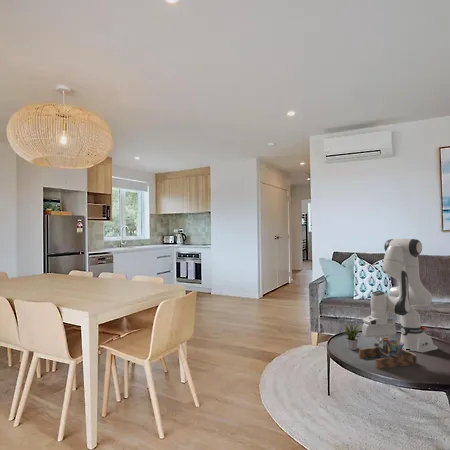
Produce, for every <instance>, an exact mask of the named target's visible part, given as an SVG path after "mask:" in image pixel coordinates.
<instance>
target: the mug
mask: <svg viewBox="0 0 450 450" xmlns="http://www.w3.org/2000/svg"><path fill="white" fill-rule="evenodd" d="M387 344H388V349H389V351H390V352H398V357H399V356H401V351H402V348H403V346H404V343H403V342H401V341H400V340H396V339H388V341H387ZM388 355H389V356H390V354H388Z"/></svg>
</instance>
